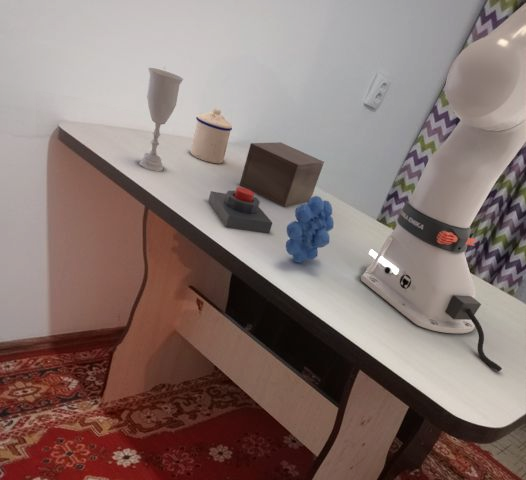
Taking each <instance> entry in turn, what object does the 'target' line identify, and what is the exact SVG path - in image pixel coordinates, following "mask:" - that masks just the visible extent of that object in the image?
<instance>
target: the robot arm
mask: <svg viewBox="0 0 526 480" xmlns="http://www.w3.org/2000/svg"><path fill="white" fill-rule="evenodd" d="M445 96H446V100H447V102H448V104H449V106H450V108H451V110H452V111H453V113H454V114H455V116H456V117H457V118H458V119H459V121H458V122H457V125H456V126H455V127H454V129H453V130H452V132H451V133H450V134H449V136H448V137H447V138H446V139H445V141H444V142H443V143H442V144H441V146H439V148H438V149H436V150H435V151H434V152H433V153H432V154H431V156H430V157H429V159H428V161H427V162H426V165H425V167H424V169H423V170H422V173H421V175H420V177H419V180H418V181H417V184H416V185H415V188H414V190H413V192H412V194H411V196H410V198H409V199H408V200H407V201H405V203H404V205H403V206H402V208H401V209H400V211H399V215H398V217H397V219H396V220H397V223H396V225H395V227H394V229H393V231H392V232H391V233H390V234H389V236H388V237H387V238H386V239H385V241H384V243H383V244H382V246H381V248H380V250H378V252H376V251H374V250H373V249H370V250H369V252H368V255H370V256H371V257H373V260H372V262H370V263H369V265H368V267H366V269H365V271H364V273H362V275H361V277H360V281H361V282H362V283H364V284H365V285H366V286H367V287H369V288H370V289H371V290H372V291H373V292H374V293H376V294H377V295H378V296H379V297H381V298H382V299H384V300H385V301H386V302H387V303H389V304H390V305H391V306H392V307H393V308H395V309H396V310H397V311H398V312H400V313H401V314H402V315H403V316H405V317H406V318H407V319H408V320H410V321H411V322H412V323H414V324H415V325H416V326H418V327H420V328H424V329H425V330H429V331H434V332H439V333H446V334H467V333H471V332H473V331H474V330H475V329H476V331H477V335H478V342H477V347H476V348H477V349H476V350H477V353H478V356H479V358H480V359H481V360H482V361H483V362H484V363H485V364H486V365H488V366H489V367H490V368H492V369H494V370H495V371H496V372H499V373H500V372H501V370H502V369H503V368H502V367H501V366H500V365H499V364H497V363H496V362H495V361H493V360H491V359H490V358H489V357H488V356H487V355H486V354H485V352H484V343H485V342H484V341H485V334H484V330H483V327H482V325H481V323H480V321H479V319H478V318H477V317H476V316H475V315H476V313H477V311H478V310H479V308H480V307H481V305H482V303H481V302H479V301H478V300H477V299H475V297H476V293H477V292H476V287H475V283H474V282H473V277H472V275H471V272H470V269H469V265H468V261H467V258H466V255H465V252H466V251H467V249H468V246H472V247H473V246H476V245H475V244H474V243H475V242H478V239H477V238H471V237H470V235H471V230H472V229H471V226H472V224H473V222H474V220H475V218H476V217H477V215H478V213H479V212H480V209H481V208H482V206H483V205H484V203H485V202H486V199H487V198H488V196H489V194H490V192H491V191H492V189H493V187H494V186H495V184H496V182H497V181H498V180H499V179H500V176H501V175H502V174H503V173H504V171H506V168H507V167H508V166H509V165H510V163H511V162H512V161H513V160H514V158H515V157H516V156H517V154H518V153H519V152H520V150H521V149H522V148H523V146H524V145H525V143H526V2H525V3H524V4H522V5H521V6H520V7H519V8H518V9H516V10H515V11H514V12H513V13H512V14H511V15H510V16H508V17H507V18H506V19H505V20H504V21H503V22H502V23H501V24H499V25H498V26H497V27H496V28H495V29H493V30H492V31H491V32H490V33H488V34H487V35H485V36H483V37H481V38H479V39H478V40H475V41H474V42H471V43H470V44H468V45H467V46H466V47H465V48H463V50H462V51H461V52H460V53H459V54H458V55H457V56H456V58H455V59H454V60H453V62H452V64H451V66H450V68H449V71H448V74H447V77H446V82H445Z"/></svg>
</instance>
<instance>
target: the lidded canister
mask: <svg viewBox="0 0 526 480" xmlns="http://www.w3.org/2000/svg"><path fill="white" fill-rule="evenodd" d="M195 119H196V123H195V128H194V132H193V138H192V143H191V147H190V154H191V155H192V156H193V157H195V158H196V159H198V160H201V161H204V162H206V163H212V164H222V163H223V162H224V159H225V156H226V151H227V147H228V143H229V139H230V134H231V131H232V130H233V128H232V127H233V126H232V124H231V123H230V122H229V121H228V120H227V119H226V118H225V117H224V116H223V115H222V110H220V109H219V108H216V107H215V108H213V109H212V111H207V112H206V113H199V114H197V116H196V117H195Z"/></svg>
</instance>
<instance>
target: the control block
mask: <svg viewBox="0 0 526 480" xmlns="http://www.w3.org/2000/svg"><path fill="white" fill-rule="evenodd" d="M235 191H236V190H227V192H226V193H224V192H219V191H213V190H210V193H209V197H208V203H209V205H210V206H211V208H212V209H213V211H214V212H215V213H216V215H217V217H218V218H219V219H220V221H221V222H222V224H223V225H224V227H225V228H229V229H236V230H243V231H251V232H257V233H264V234H270V232H271V229H272V226H273V222H272V220H271V219H270V218H269V217H268V216H267V214H266V213H265V212H264V211H263V209H261V208H260V205H261V201H260V200H259V199H258V197H255V196H254V197H253V200H252V202H246V201H242V200H239V199H237V198H236V197H234V194H235Z"/></svg>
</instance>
